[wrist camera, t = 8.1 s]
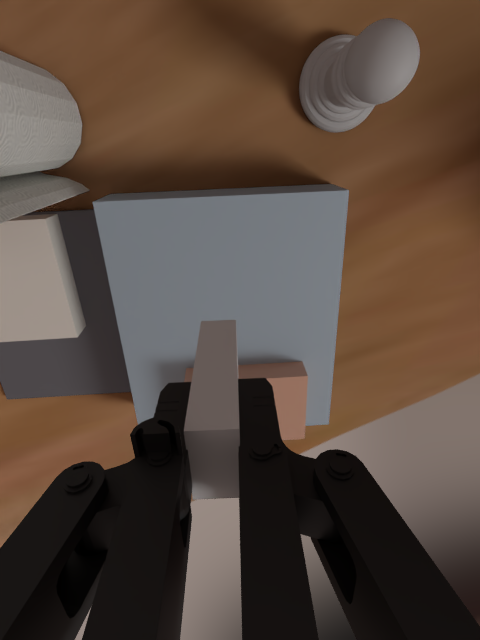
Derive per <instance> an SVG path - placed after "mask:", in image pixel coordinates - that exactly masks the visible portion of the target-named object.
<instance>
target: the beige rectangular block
mask: <svg viewBox="0 0 480 640" xmlns="http://www.w3.org/2000/svg"><path fill="white" fill-rule="evenodd" d="M85 327H86V324H85V320H84V316H83V312H82V308H81V304H80V300H79V296H78V292H77V288H76V285H75V281H74V277H73V273H72V269H71V265H70V261H69V257H68V253H67V249H66V245H65V241H64V238H63V234H62V230H61V226H60V222H59V218H58V214H44V215H26V216H19V217H16V218H14V219H11V220H8V221H6V222H3V223H0V342H12V341H28V340H44V339H60V338H76V337H78V336H79V335H80V333H81V332H82V331H83V329H84V328H85Z"/></svg>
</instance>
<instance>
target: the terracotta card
mask: <svg viewBox="0 0 480 640" xmlns="http://www.w3.org/2000/svg"><path fill="white" fill-rule="evenodd" d="M193 369H194V368H186V373H185V379H184V382H192V375H193ZM247 378H266V379H267V380H268V382H269V383H270V384H271V385H272V387H273V393H274V399H275V406H276V411H277V417H278V423H279V429H280V434H281V438H282V440H292V439H305V423H306V404H307V384H308V375H307V372H306V370H305V367H304V364H303V362H302V361H300V362H283V363H266V364H249V365H238V379H247Z"/></svg>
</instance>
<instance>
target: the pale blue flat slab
mask: <svg viewBox="0 0 480 640" xmlns="http://www.w3.org/2000/svg"><path fill="white" fill-rule="evenodd" d="M348 196H349V190H347V189H344V188H341V187H339V186H336V185H333V184H319V185H297V186H275V187H253V188H231V189H209V190H187V191H165V192H143V193H121V194H109V195H107V196H105V197H102V198H100V199H98V200H96V201H94V202H93V207H94V212H95V216H96V221H97V226H98V231H99V236H100V241H101V246H102V251H103V256H104V260H105V265H106V270H107V275H108V280H109V285H110V290H111V295H112V299H113V304H114V309H115V314H116V319H117V324H118V329H119V334H120V339H121V343H122V348H123V353H124V358H125V363H126V368H127V373H128V378H129V382H130V387H131V392H132V397H133V402H134V407H135V412H136V417H137V422H138V425H139V424H140V423H141V422H143V421H145V420H147V419H150V418H153V417H154V413H155V410H156V406H157V404H158V399H159V395H160V392H161V391H162V389H163V388H164V387H165V386H166V385H167V384H168V383H175V382H184V379H185V373H186V368H194V363H195V356H196V350H197V344H198V337H199V331H200V325H201V321H217V320H236V333H237V355H238V365H249V364H266V363H283V362H300V361H302V362H303V364H304V367H305V370H306V372H307V375H308V384H307V404H306V423H305V426H310V425H325V424H329V415H330V403H331V392H332V380H333V369H334V357H335V346H336V334H337V323H338V311H339V299H340V288H341V276H342V265H343V253H344V242H345V230H346V219H347V207H348Z"/></svg>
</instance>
